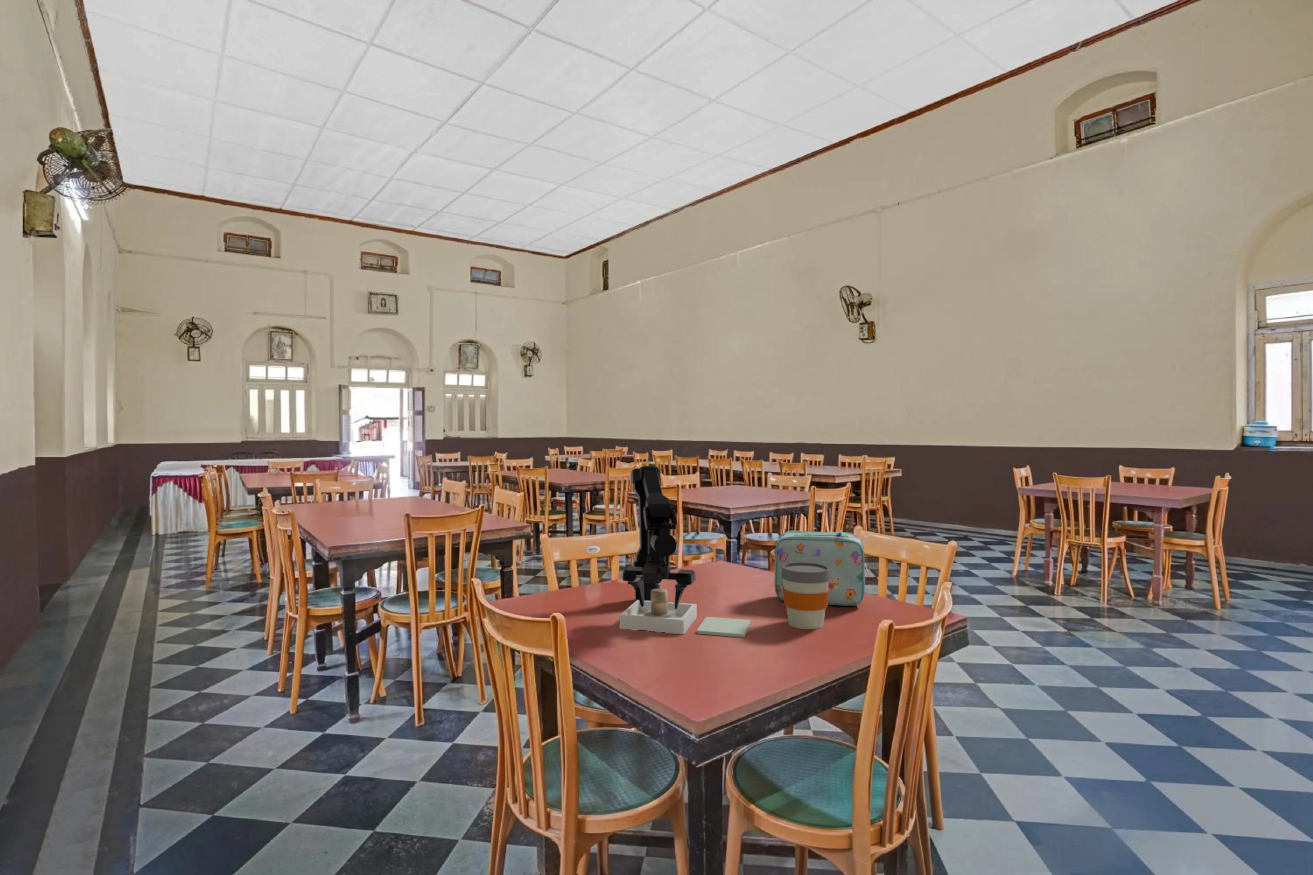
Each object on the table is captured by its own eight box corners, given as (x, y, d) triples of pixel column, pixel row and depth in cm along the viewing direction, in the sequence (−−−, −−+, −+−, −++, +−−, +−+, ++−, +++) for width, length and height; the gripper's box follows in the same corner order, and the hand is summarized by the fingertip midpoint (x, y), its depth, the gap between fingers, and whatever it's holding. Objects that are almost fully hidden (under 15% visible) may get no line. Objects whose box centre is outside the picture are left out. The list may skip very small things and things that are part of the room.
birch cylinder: (648, 614, 174) (648, 592, 174) (653, 610, 179) (653, 588, 178) (665, 616, 173) (664, 593, 173) (669, 611, 177) (669, 589, 177)
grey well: (619, 628, 171) (619, 615, 171) (637, 612, 185) (637, 599, 185) (683, 634, 166) (683, 620, 166) (696, 617, 181) (696, 604, 181)
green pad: (696, 633, 167) (696, 630, 167) (706, 619, 178) (706, 616, 178) (744, 637, 164) (744, 634, 164) (750, 622, 175) (750, 619, 175)
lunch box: (867, 600, 197) (867, 528, 196) (869, 609, 187) (869, 534, 186) (776, 594, 204) (776, 525, 203) (773, 603, 194) (773, 530, 194)
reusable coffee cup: (831, 632, 167) (831, 573, 166) (781, 629, 169) (780, 571, 169) (829, 618, 179) (829, 562, 179) (781, 615, 182) (781, 561, 181)
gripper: (615, 553, 170) (615, 613, 171) (685, 557, 165) (686, 619, 166) (628, 545, 181) (629, 602, 181) (695, 548, 176) (696, 607, 176)
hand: (659, 607), depth 176 cm, fingers open, 9 cm apart
